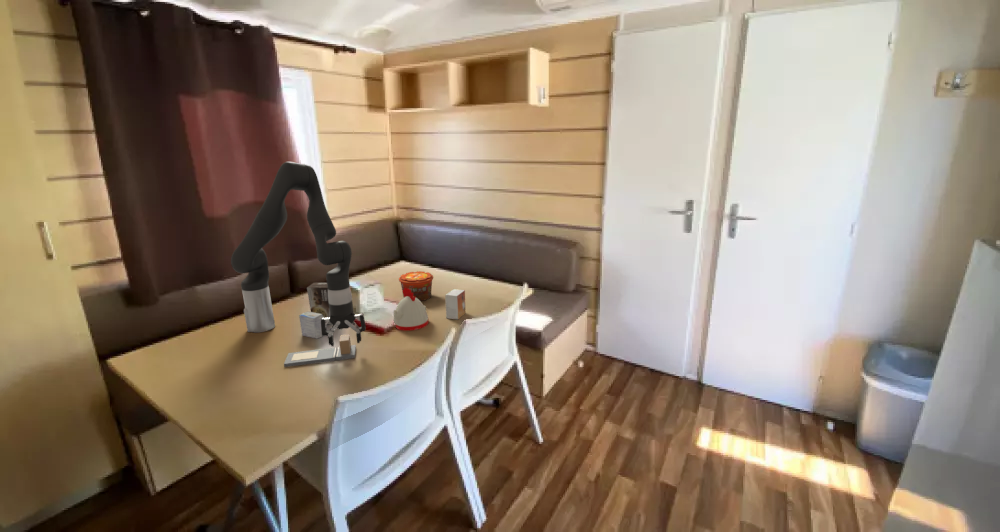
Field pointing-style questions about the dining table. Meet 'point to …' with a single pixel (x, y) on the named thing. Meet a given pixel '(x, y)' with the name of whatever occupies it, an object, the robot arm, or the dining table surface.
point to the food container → (417, 284)
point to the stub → (345, 348)
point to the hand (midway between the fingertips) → (345, 343)
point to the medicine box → (311, 324)
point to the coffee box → (319, 299)
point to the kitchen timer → (410, 313)
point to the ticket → (310, 357)
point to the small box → (455, 304)
